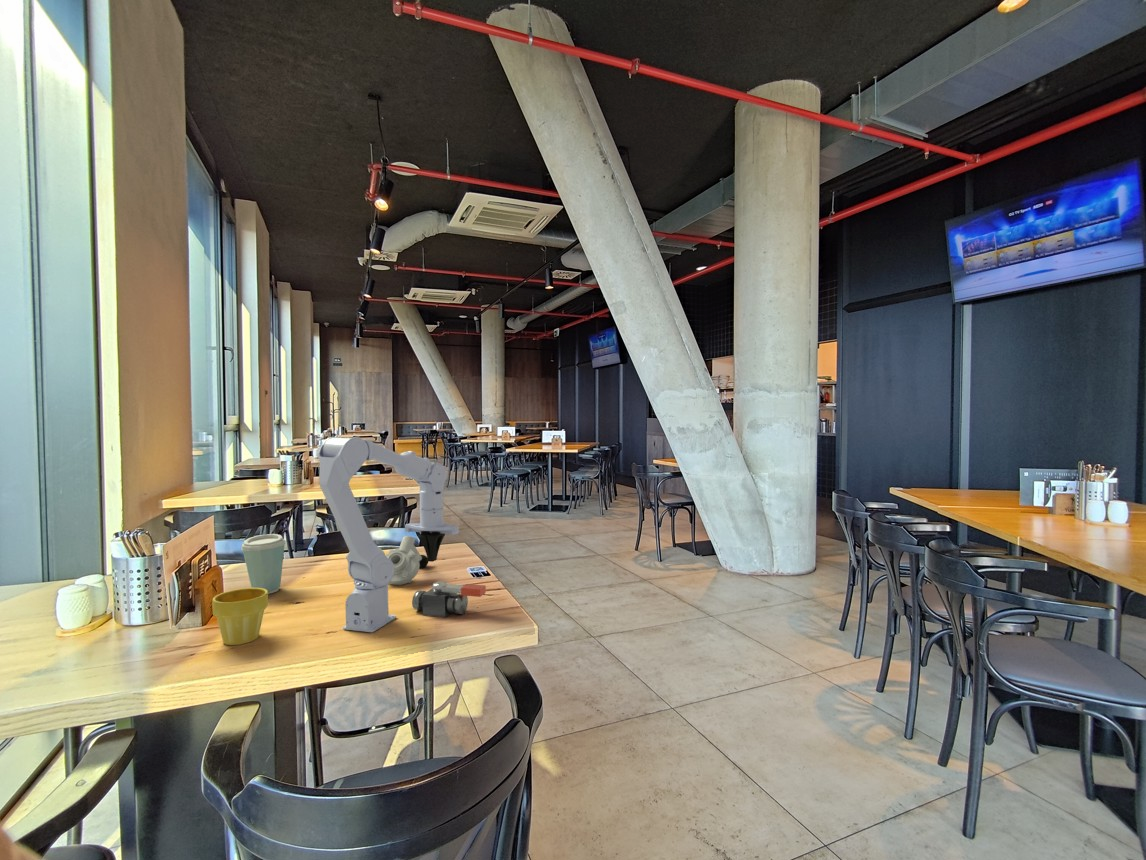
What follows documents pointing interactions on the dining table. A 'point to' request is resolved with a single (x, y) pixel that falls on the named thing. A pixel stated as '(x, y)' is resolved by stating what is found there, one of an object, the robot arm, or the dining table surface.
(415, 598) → the pipe valve
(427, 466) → the robot arm
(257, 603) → the plant pot
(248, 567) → the disposable coffee cup
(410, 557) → the grey rounded housing
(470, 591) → the valve lever
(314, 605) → the dining table surface
